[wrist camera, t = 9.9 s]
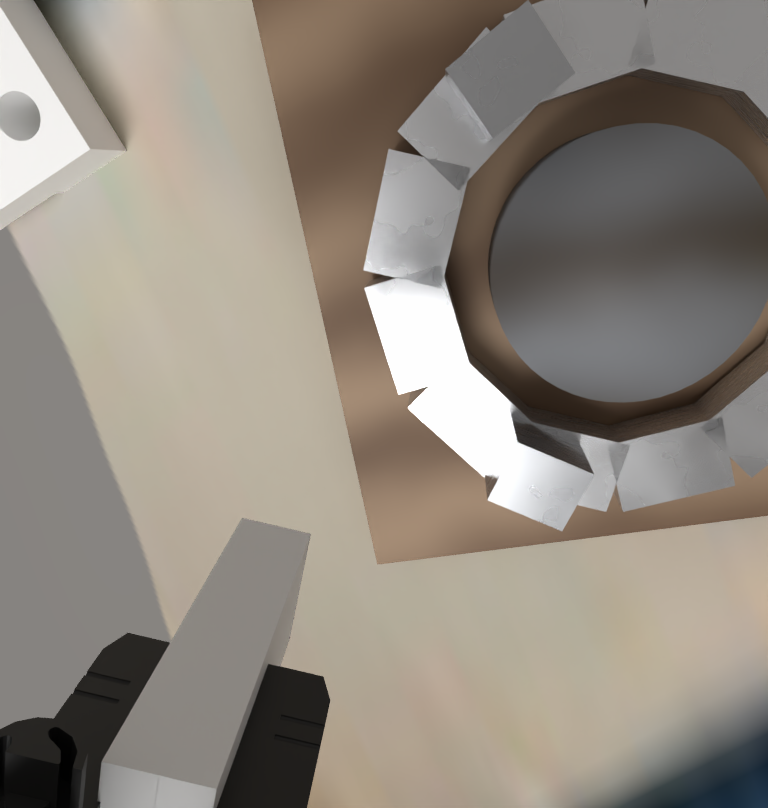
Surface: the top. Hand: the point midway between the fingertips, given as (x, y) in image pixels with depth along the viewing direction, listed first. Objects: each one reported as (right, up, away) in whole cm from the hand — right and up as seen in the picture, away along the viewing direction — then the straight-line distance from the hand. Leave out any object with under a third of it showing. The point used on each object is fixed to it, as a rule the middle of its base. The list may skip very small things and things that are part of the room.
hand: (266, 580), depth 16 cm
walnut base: (+12, +10, +15) cm, 21 cm away
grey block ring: (+12, +9, +12) cm, 19 cm away
